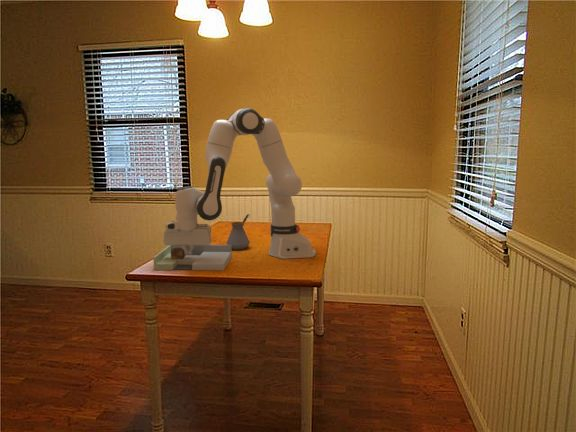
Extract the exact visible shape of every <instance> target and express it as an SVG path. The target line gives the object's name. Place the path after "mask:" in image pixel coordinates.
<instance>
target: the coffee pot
mask: <svg viewBox="0 0 576 432" xmlns="http://www.w3.org/2000/svg"><path fill="white" fill-rule="evenodd" d="M248 218H251V215H250V214H249V213H248V214H246V215H245V217H244V218H243V220H242V221H235V222H231V223H230V225H232V226H231V227H232V228H231V231H230V233H229V236H228V238H227V241H226V245H231V249H232V251H233V250H234V251H239V250H241V251H242V250H245V249H247V248H248V246H249V245H250V240H249V238H248V235H247V233H246V231H245V229H244V225H245V222H246V221H247V219H248Z"/></svg>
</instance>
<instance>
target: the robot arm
mask: <svg viewBox="0 0 576 432" xmlns="http://www.w3.org/2000/svg"><path fill="white" fill-rule="evenodd" d="M248 135H252V136H253V137H254V139H255V140H256V144H257V147H258V150H259V153H260V156H261V159H262V162H263V165H264V166H265V168H266V169H267V171H268V172H269V174H268V175H267V176H266V179H265V185H266V188H267V191H268V197H269V201H270V202H269V203H270V208H271V209H270V210H271V214H270V215H271V224H270V230H269V231H270V236H271V238H270V245H269V251H268V255H269V256H271V257H274V258H275V257H276V258H279V259H281V260H283V259H284V260H286V259H287V260H288V259H303V258H304V259H306V258H314V257H316V255H317V254H316V249H314V248H313V247H312V245H311V241H310V239H309V238H307V236H305V235H304V234H302V233H301V227H300V225H299V224H296V208H295V204H294V202H293V198H292V197H294V196H296V195H298V194H299V193H300V192H301V190H302V187H303V182H302V180H301V178H300V176H298V174H297V173H296V171H295V169H294V167H293V165H292V163H291V161H290V159H289V158H288V155H287V152H286V148H285V145H284V142H283V139H282V137H281V133H280V130H279V128H278V126H277V124H276V123H275V121H274V120H273V119H272V118H267V117H265V118H263V117H262V116H261V115H260V114H259V113H258V111H256V110H255V109H253V108H250V107H246V108H240V109H237V110H236V111H234V112H233V113H231V115H230V116H228V118H227V119H217V120H215V121H214V122H213V124H212V126H211V128H210V131H209V133H208V137H207V141H206V146H205V155H204V156H205V161H206V164H207V165H206V166H207V169H208V170H207V171H208V175H207V180H206V185H205V190H204V191H202V190H200V189H198V188H196V187H194V186H193V185H187V186H183V187H180V188H178V189H177V190H176V192H175V200H174V201H175V202H174V203H175V204H174V205H175V210H176V215H175V220H172V221H170V222H168V223H166V224H165V226H164V228H165V230H164V232H163V244H164V245H165V246H168V245H182V249H183V250H184V251H185V255H192V250H193V248H194V245H211V243H212V235H211V234H212V226H211V225H209V224H207V223H198V216H199V218H201V219H203V220H205V221H213V220H216V219H218V218H219V217H220V215H221V213H222V211H223V206H222V202H221V193H222V186H223V182H224V176H225V172H226V170H227V167H228V164H229V162H230V158H231V155H232V153H233V152H232V151H233V149H234V148H233V147H234V142H235V140H236V138H237V136H248ZM186 245H190V248H191V249H190V250H187V249H186V248H185V247H186Z"/></svg>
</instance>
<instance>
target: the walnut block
mask: <svg viewBox="0 0 576 432" xmlns="http://www.w3.org/2000/svg"><path fill="white" fill-rule="evenodd" d="M185 256H186V255H185V251H184V250H183V249H182V247H174V248H173V249H172V250H171V259H183V258H184V257H185Z"/></svg>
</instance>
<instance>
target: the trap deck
mask: <svg viewBox="0 0 576 432" xmlns="http://www.w3.org/2000/svg"><path fill="white" fill-rule="evenodd" d="M174 247H182V245H166V247H165V248H163V249H162V250H161V251H159V252H158V253H157V254H155V255H154V256H153V257H152V259H153V260H152V261H153V271H224V270H225V269H226V266H227V265H228V264H229V261H230V260H231V258H232V256H233V255H232V254H233V253H232V251H233V250H232V249H231V245H227V244H209V245H194V248H193V250H192V255H186V256H185V257H184V258H183V259H171V250H172V249H173V248H174ZM185 248H186V249H187V250H190V249H191V248H190V245H186V247H185Z"/></svg>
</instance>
